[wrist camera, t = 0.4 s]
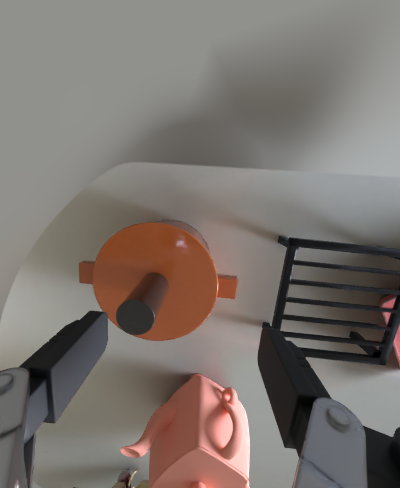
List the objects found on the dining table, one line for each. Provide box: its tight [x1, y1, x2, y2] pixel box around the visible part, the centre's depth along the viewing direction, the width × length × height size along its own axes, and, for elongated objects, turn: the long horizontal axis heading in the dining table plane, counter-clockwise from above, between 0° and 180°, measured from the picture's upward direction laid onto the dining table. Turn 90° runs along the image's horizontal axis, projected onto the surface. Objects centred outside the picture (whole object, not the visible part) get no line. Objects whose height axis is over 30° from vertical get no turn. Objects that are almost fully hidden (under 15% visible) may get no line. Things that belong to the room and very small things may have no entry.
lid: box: [93, 222, 218, 341], centre depth 18 cm, size 13×13×7 cm
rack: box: [262, 236, 400, 365], centre depth 27 cm, size 16×16×5 cm
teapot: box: [120, 374, 250, 488], centre depth 28 cm, size 15×17×13 cm
